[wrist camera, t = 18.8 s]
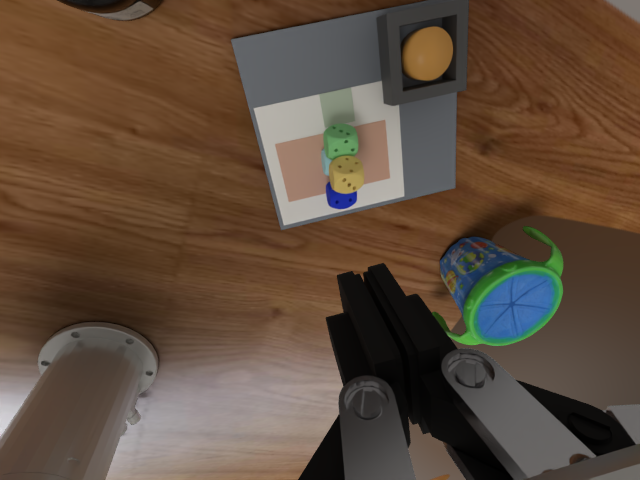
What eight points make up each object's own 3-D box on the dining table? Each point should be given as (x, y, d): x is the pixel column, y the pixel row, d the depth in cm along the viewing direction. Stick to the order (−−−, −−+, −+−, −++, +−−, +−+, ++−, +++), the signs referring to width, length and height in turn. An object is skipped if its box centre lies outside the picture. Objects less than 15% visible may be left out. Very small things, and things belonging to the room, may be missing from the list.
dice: (348, 196, 36) (366, 221, 30) (324, 200, 36) (338, 225, 30) (345, 117, 32) (365, 129, 27) (318, 120, 32) (332, 132, 26)
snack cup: (438, 317, 48) (480, 374, 39) (395, 277, 44) (432, 332, 35) (530, 243, 45) (599, 287, 36) (494, 192, 40) (563, 228, 32)
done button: (439, 74, 32) (452, 75, 30) (399, 83, 32) (409, 84, 29) (439, 25, 30) (453, 22, 28) (395, 34, 30) (407, 31, 27)
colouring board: (450, 185, 39) (467, 195, 36) (280, 226, 37) (283, 240, 34) (452, -4, 30) (474, -12, 27) (231, 40, 29) (229, 37, 26)
